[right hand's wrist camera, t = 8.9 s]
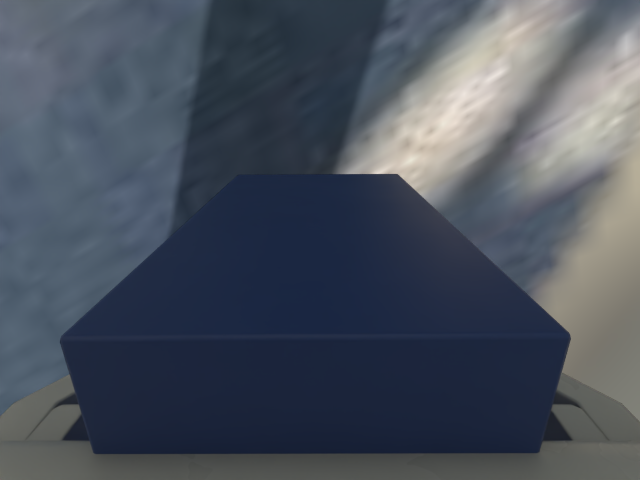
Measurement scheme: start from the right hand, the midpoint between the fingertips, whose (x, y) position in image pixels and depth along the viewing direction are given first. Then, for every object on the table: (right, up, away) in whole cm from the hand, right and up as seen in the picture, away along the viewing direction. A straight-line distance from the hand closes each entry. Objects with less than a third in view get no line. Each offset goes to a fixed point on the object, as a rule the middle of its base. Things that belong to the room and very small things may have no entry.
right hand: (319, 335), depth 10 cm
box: (0, -5, +7) cm, 9 cm away
